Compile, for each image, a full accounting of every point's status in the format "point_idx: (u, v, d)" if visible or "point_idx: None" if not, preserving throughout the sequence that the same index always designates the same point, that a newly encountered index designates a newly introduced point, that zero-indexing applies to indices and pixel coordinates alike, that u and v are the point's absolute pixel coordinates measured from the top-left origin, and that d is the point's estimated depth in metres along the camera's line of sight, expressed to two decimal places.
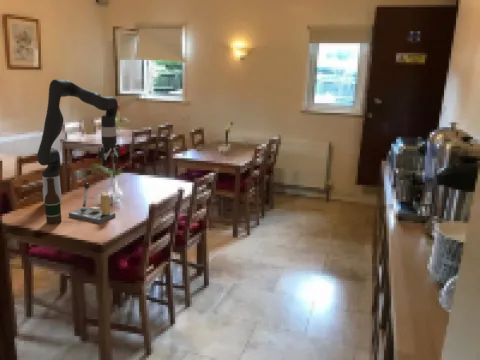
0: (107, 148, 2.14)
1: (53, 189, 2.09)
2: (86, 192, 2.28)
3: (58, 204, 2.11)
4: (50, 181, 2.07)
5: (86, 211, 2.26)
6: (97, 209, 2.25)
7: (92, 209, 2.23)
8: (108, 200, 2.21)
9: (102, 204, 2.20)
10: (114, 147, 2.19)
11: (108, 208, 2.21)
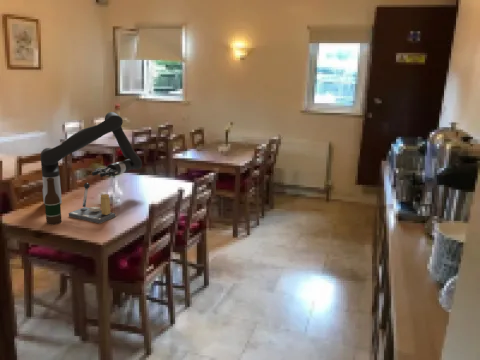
0: None
1: (53, 189, 2.09)
2: (86, 192, 2.28)
3: (58, 204, 2.11)
4: (50, 181, 2.07)
5: (86, 211, 2.26)
6: (97, 209, 2.25)
7: (92, 209, 2.23)
8: (108, 200, 2.21)
9: (102, 204, 2.20)
10: None
11: (108, 208, 2.21)
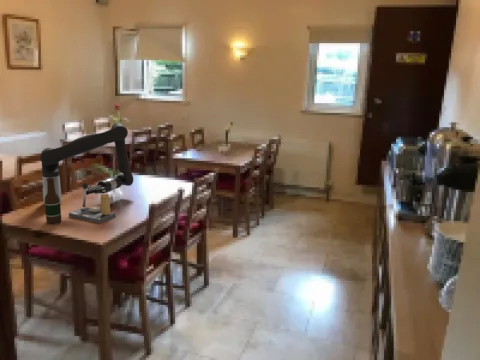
0: None
1: (53, 189, 2.09)
2: (85, 192, 2.27)
3: (58, 204, 2.11)
4: (50, 181, 2.07)
5: (86, 211, 2.26)
6: (97, 209, 2.25)
7: (92, 209, 2.23)
8: (108, 200, 2.21)
9: (102, 204, 2.20)
10: None
11: (108, 208, 2.21)
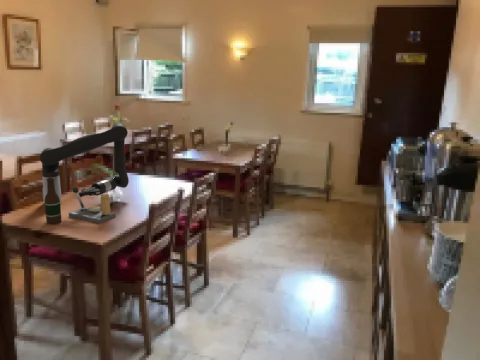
0: None
1: (53, 189, 2.09)
2: (78, 196, 2.23)
3: (58, 204, 2.11)
4: (50, 181, 2.07)
5: (86, 211, 2.26)
6: (97, 209, 2.25)
7: (92, 209, 2.23)
8: (108, 200, 2.21)
9: (102, 204, 2.20)
10: None
11: (108, 208, 2.21)
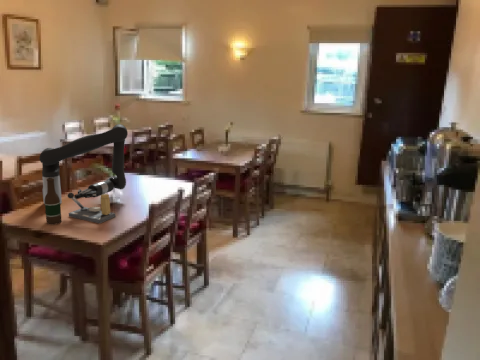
0: None
1: (53, 189, 2.09)
2: (75, 200, 2.21)
3: (58, 204, 2.11)
4: (50, 181, 2.07)
5: (86, 211, 2.26)
6: (97, 209, 2.25)
7: (92, 209, 2.23)
8: (108, 200, 2.21)
9: (102, 204, 2.20)
10: None
11: (108, 208, 2.21)
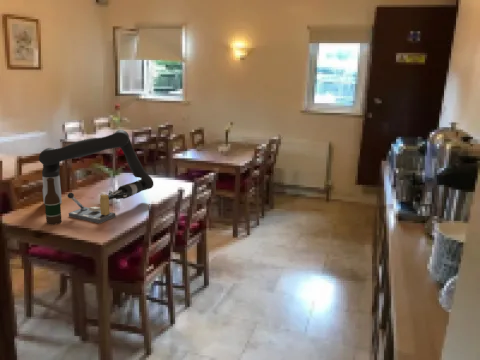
0: None
1: (53, 189, 2.09)
2: (75, 200, 2.21)
3: (58, 204, 2.11)
4: (50, 181, 2.07)
5: (86, 211, 2.26)
6: (97, 209, 2.25)
7: (92, 209, 2.23)
8: (107, 200, 2.20)
9: (101, 204, 2.19)
10: None
11: (107, 208, 2.21)
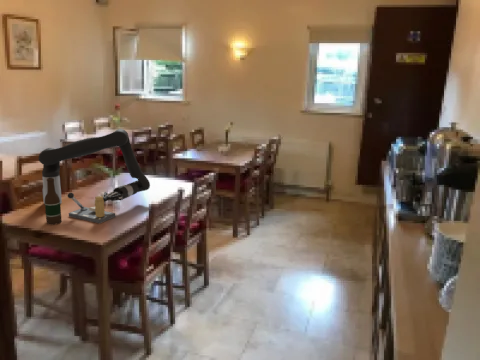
0: None
1: (53, 189, 2.09)
2: (75, 200, 2.21)
3: (58, 204, 2.11)
4: (50, 181, 2.07)
5: (86, 211, 2.26)
6: None
7: (92, 209, 2.23)
8: (102, 202, 2.17)
9: (96, 206, 2.16)
10: None
11: (102, 210, 2.17)
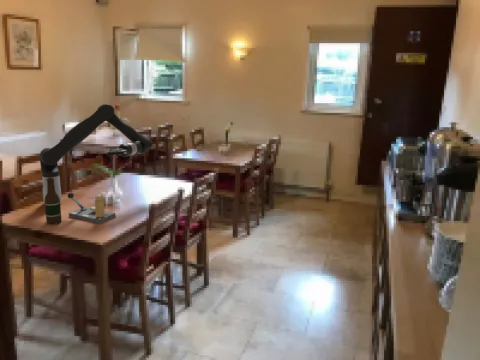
0: None
1: (53, 189, 2.09)
2: (75, 200, 2.21)
3: (58, 204, 2.11)
4: (50, 181, 2.07)
5: (86, 211, 2.26)
6: None
7: (92, 209, 2.23)
8: (102, 202, 2.17)
9: (96, 206, 2.16)
10: None
11: (102, 210, 2.17)
